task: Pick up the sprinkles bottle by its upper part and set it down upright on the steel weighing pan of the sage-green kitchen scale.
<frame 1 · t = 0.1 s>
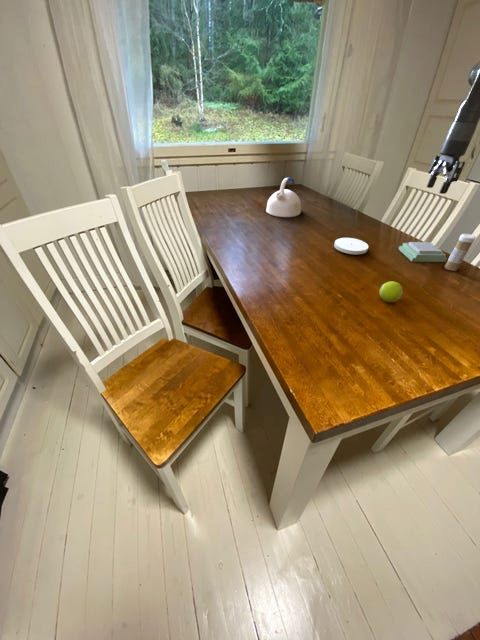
hand: (435, 190, 101), 25 cm above the table, tool pointing down, fingers open, 8 cm apart
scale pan: (424, 248, 114), point 3 cm above the table, slide at 0.0 cm
plastic lid: (349, 249, 120), on the table
sprinkles bottle: (450, 269, 107), on the table
scale: (420, 255, 116), on the table
tennis ball: (387, 300, 90), on the table
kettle: (283, 212, 159), on the table
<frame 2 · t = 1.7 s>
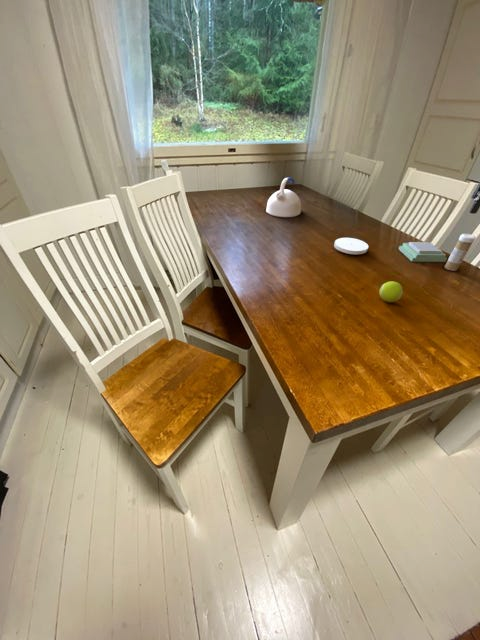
nothing on the table moved.
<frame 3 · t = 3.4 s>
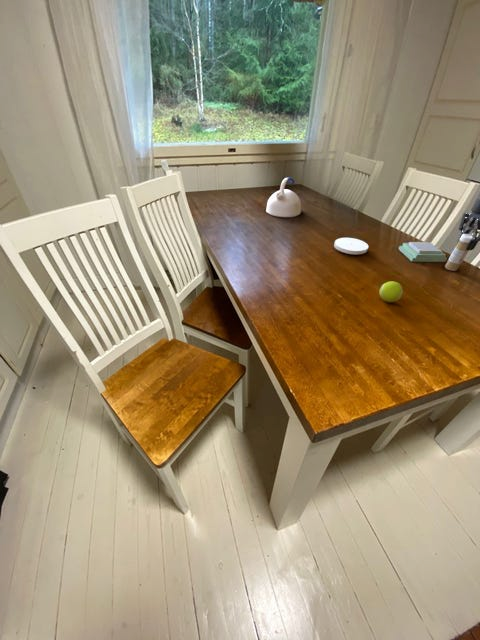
hand: (464, 246, 101), 9 cm above the table, tool pointing down, fingers closed on sprinkles bottle, 4 cm apart
sprinkles bottle: (450, 269, 107), on the table, touching gripper
everything else where it was.
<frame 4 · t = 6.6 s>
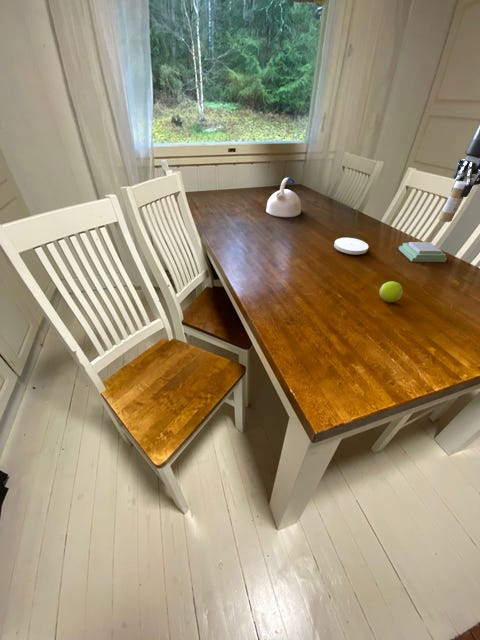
hand: (458, 194, 98), 25 cm above the table, tool pointing down, fingers closed on sprinkles bottle, 4 cm apart
sprinkles bottle: (444, 220, 104), point 16 cm above the table, touching gripper
everything else where it was.
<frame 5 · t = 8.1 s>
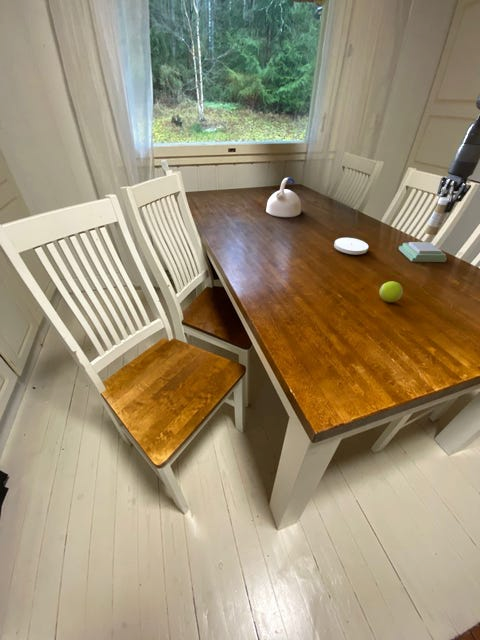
hand: (442, 209, 104), 19 cm above the table, tool pointing down, fingers closed on sprinkles bottle, 4 cm apart
sprinkles bottle: (429, 233, 111), point 9 cm above the table, touching gripper
everything else where it was.
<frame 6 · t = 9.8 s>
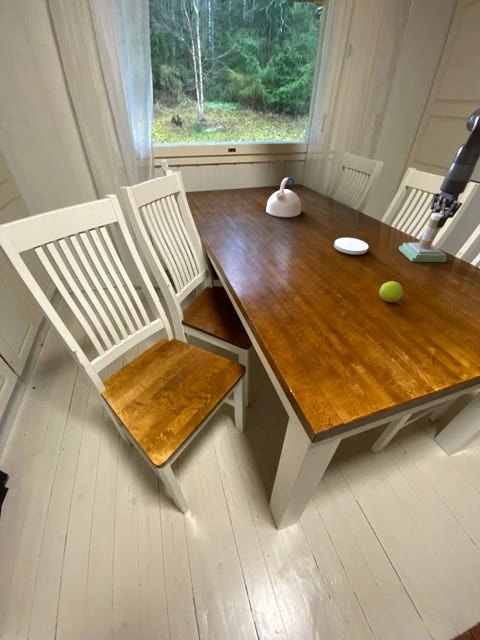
hand: (435, 224, 108), 13 cm above the table, tool pointing down, fingers closed on sprinkles bottle, 4 cm apart
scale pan: (424, 248, 114), point 3 cm above the table, slide at -0.3 cm, touching sprinkles bottle
sprinkles bottle: (423, 247, 114), point 4 cm above the table, touching gripper, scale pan
everything else where it was.
when the fingers open (13 cm above the table, at t = 9.9 s): sprinkles bottle stays where it is, resting on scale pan.
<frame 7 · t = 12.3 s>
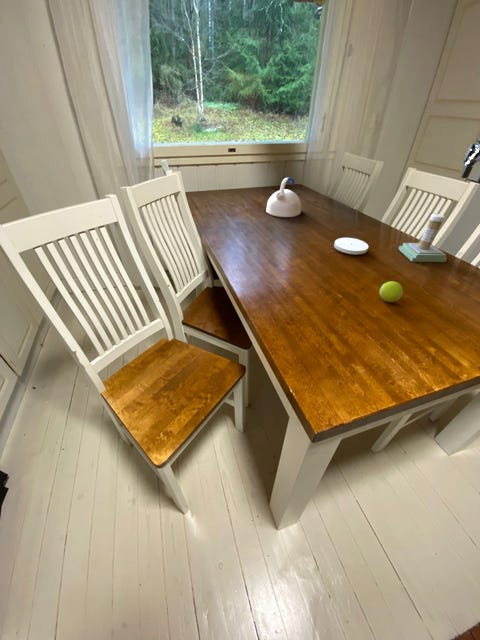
hand: (471, 180, 98), 29 cm above the table, tool pointing down, fingers open, 8 cm apart
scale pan: (423, 249, 115), point 3 cm above the table, slide at -0.7 cm, touching sprinkles bottle
sprinkles bottle: (423, 248, 114), point 3 cm above the table, touching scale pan
everything else where it was.
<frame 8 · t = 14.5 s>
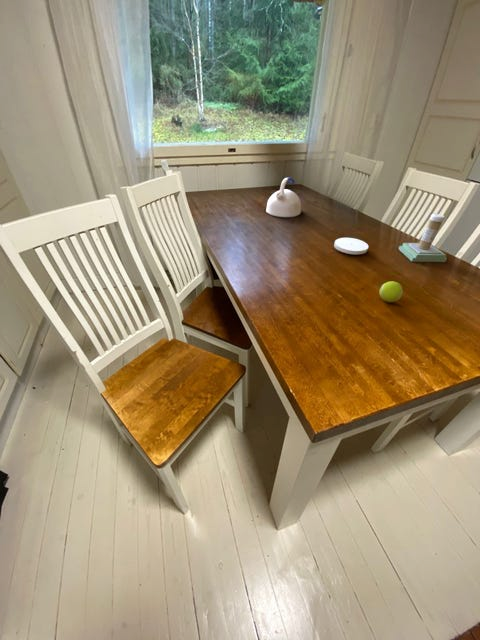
nothing on the table moved.
at the end: sprinkles bottle inside the target area on the scale (0.4 cm from its centre), point 3.2 cm above the scale's base; sprinkles bottle tilted 0°; the gripper is holding nothing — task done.
